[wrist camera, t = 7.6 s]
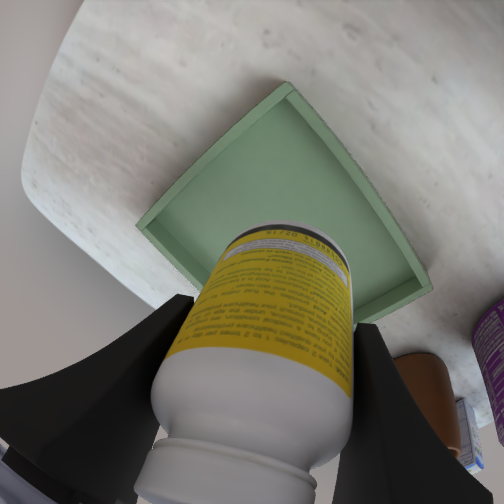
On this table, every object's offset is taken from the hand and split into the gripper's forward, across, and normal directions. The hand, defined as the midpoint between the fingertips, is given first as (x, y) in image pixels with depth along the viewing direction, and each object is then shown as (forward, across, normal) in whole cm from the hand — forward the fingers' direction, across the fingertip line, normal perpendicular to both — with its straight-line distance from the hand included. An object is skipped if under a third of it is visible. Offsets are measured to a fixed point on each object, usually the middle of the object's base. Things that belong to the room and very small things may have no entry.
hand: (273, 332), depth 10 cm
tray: (+10, +1, +2) cm, 11 cm away
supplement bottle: (+4, 0, 0) cm, 4 cm away
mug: (+11, -12, +17) cm, 23 cm away
